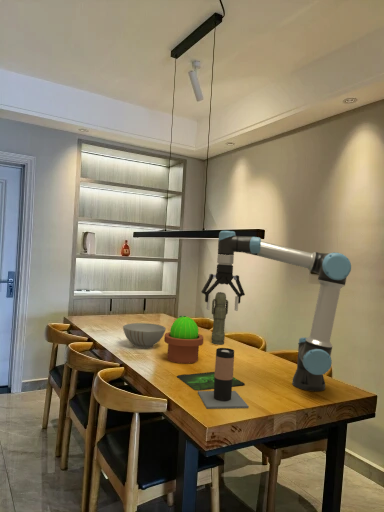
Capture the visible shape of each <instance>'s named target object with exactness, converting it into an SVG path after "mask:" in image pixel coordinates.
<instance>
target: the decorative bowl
mask: <svg viewBox="0 0 384 512" xmlns="http://www.w3.org/2000/svg"><path fill="white" fill-rule="evenodd" d="M122 329H123V334H124V336H125V337H126V339H127V340H128V342H129V343H131V344H133V347H135V348H136V349H137V348H138V349H152V348H153V347H154V346H155V345H156V344H157V343H159V342H160V341H161V340H162V338H163V336H165V334H166V333H165V332H166V329H167V328H166V327H165V326H164V325H160V324H157V323H156V324H155V323H145V322H143V323H142V322H133V323H126V324H124V325H122Z"/></svg>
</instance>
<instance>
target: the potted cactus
mask: <svg viewBox="0 0 384 512" xmlns="http://www.w3.org/2000/svg"><path fill="white" fill-rule="evenodd" d="M169 330H170V331H169V332H166V333H164V340H163V341H164V343H165V344H167V355H166V357H167V360H168V361H169V362H171V363H177V364H194V363H197V362H198V360H199V351H200V350H199V349H200V347H201V346H203V344H204V336H203V335H202V334H200V333H199V332H200V331H199V327H198V324H197V323H196V322H195V319H193V318H191V317H189V316H186V315H179V316H178V317H177V318H176V319H174V322H172V325H171V327H170V329H169Z"/></svg>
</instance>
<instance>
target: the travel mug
mask: <svg viewBox="0 0 384 512" xmlns="http://www.w3.org/2000/svg"><path fill="white" fill-rule="evenodd" d="M215 352H216V353H215V363H214V364H215V365H214V372H215V375H214V389H213V391H214V399H216V400H218V401H229V400H231V393H232V391H233V387H232V382H233V377H234V364H235V363H234V362H235V350H234V349H232V348H230V347H229V348H228V347H218V348H216V350H215Z"/></svg>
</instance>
